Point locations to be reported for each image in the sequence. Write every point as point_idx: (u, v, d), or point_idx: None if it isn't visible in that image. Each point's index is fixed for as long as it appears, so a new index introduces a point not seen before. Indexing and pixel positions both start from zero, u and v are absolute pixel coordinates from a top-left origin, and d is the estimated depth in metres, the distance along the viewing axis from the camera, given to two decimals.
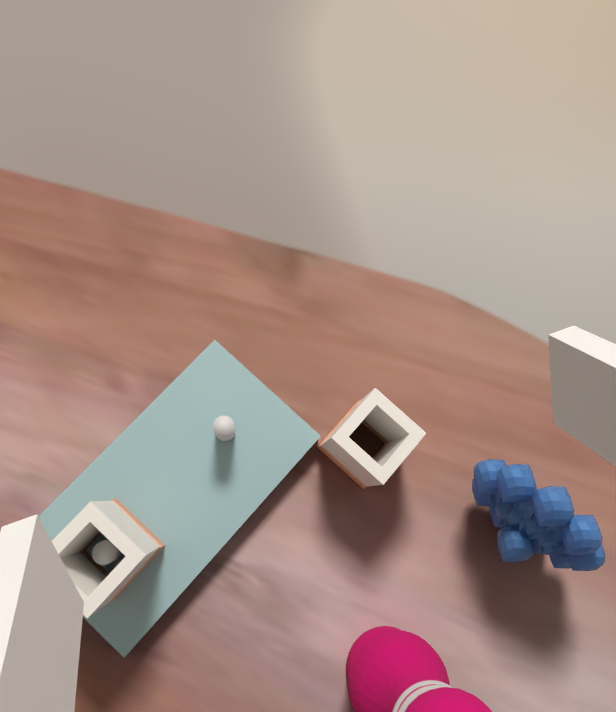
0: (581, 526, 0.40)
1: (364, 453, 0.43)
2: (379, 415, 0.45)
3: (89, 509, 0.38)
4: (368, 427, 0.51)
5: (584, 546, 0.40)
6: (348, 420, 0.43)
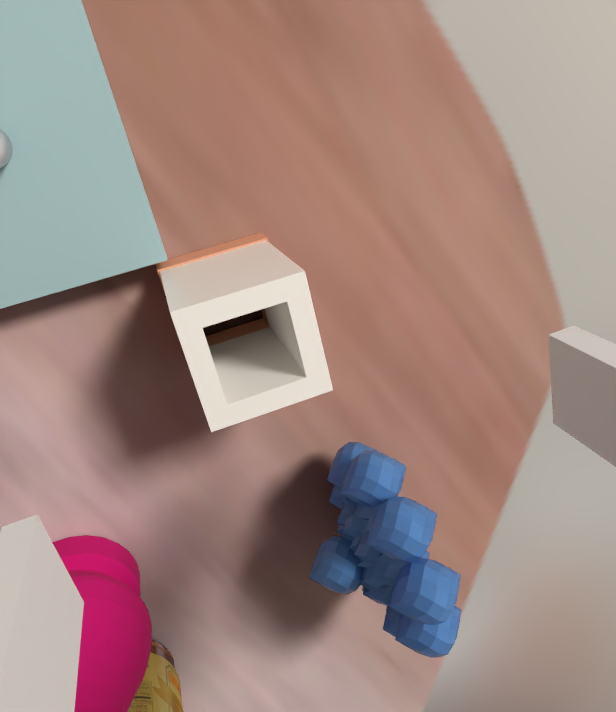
0: (440, 632, 0.26)
1: (212, 369, 0.22)
2: (280, 307, 0.23)
3: None
4: None
5: (424, 651, 0.26)
6: (220, 299, 0.21)
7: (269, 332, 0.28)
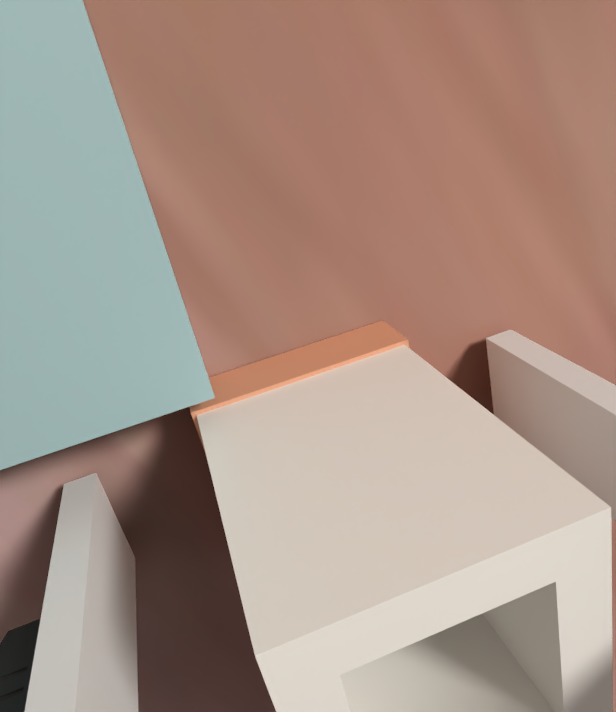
0: None
1: None
2: None
3: None
4: None
5: None
6: (392, 603, 0.07)
7: None
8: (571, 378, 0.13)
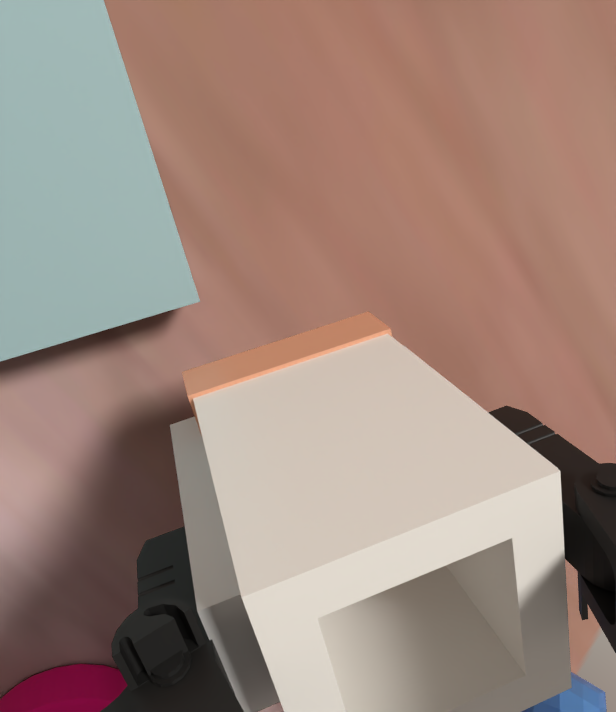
0: None
1: (332, 696, 0.09)
2: None
3: None
4: None
5: None
6: (364, 553, 0.08)
7: None
8: None
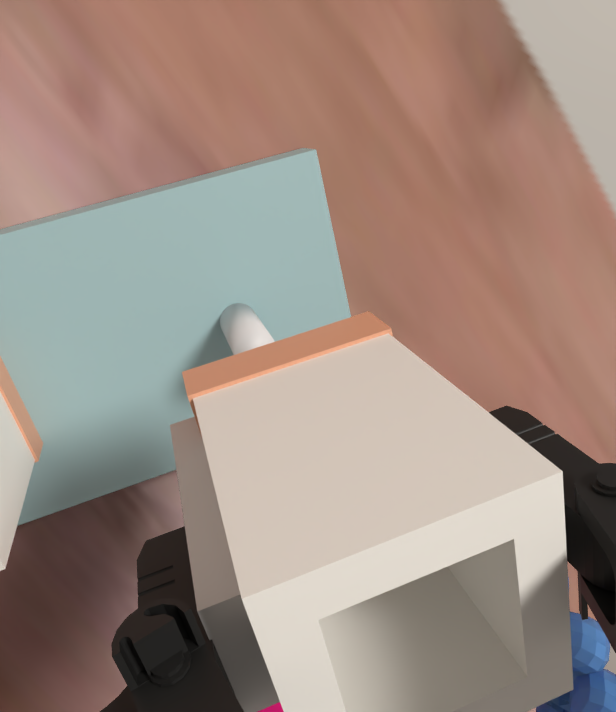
0: None
1: (333, 698, 0.09)
2: None
3: None
4: None
5: None
6: (365, 554, 0.08)
7: None
8: None
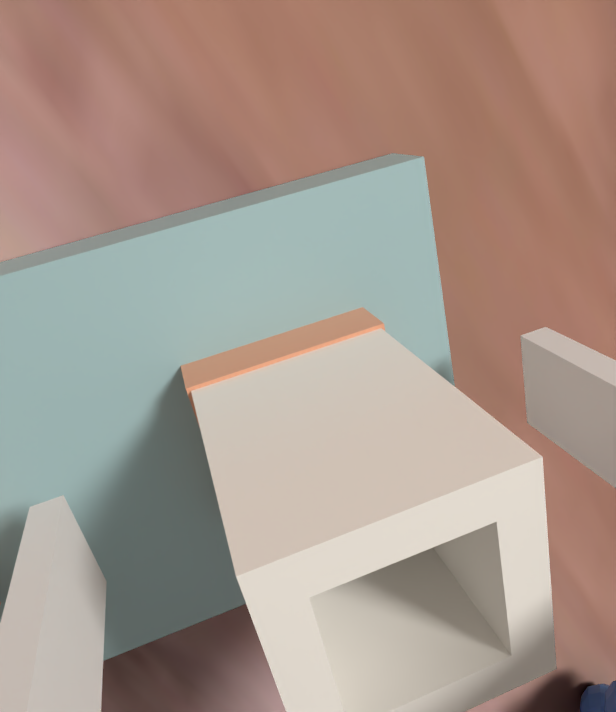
0: None
1: (323, 673, 0.10)
2: None
3: None
4: None
5: None
6: (353, 535, 0.09)
7: None
8: (615, 376, 0.13)
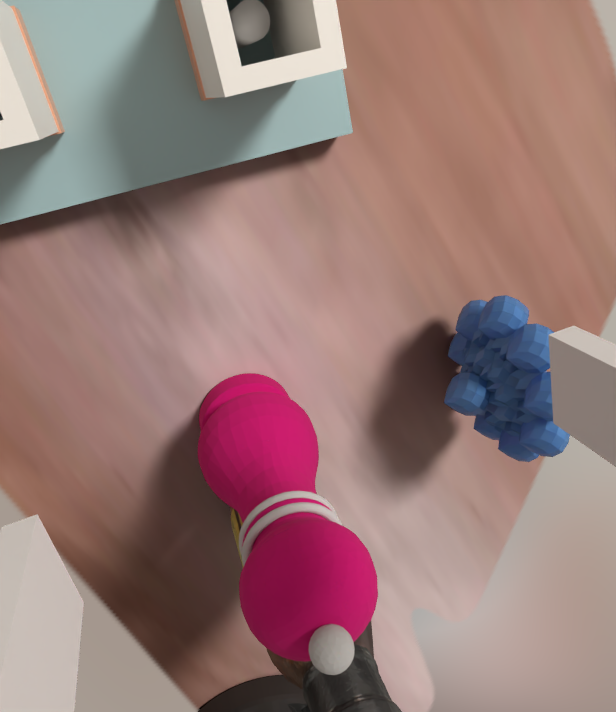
0: (559, 431, 0.33)
1: (227, 20, 0.22)
2: None
3: None
4: None
5: (544, 448, 0.33)
6: None
7: None
8: None
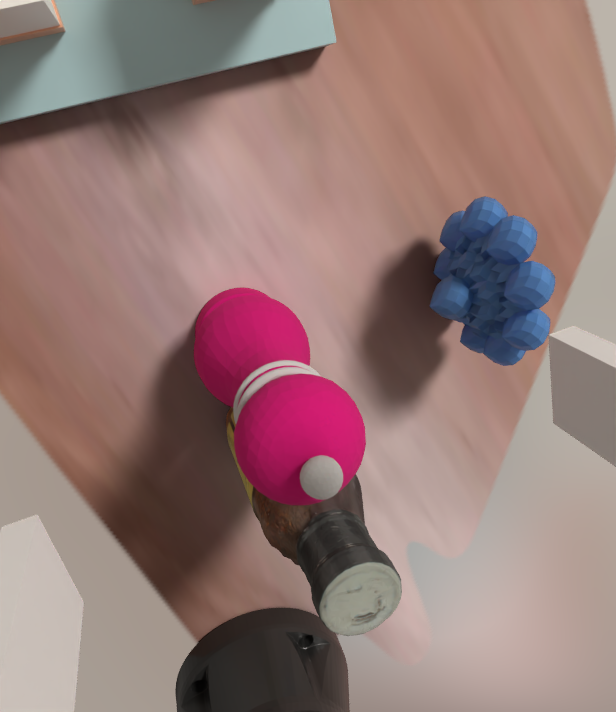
0: (539, 321, 0.34)
1: None
2: None
3: None
4: None
5: (525, 339, 0.35)
6: None
7: None
8: None
